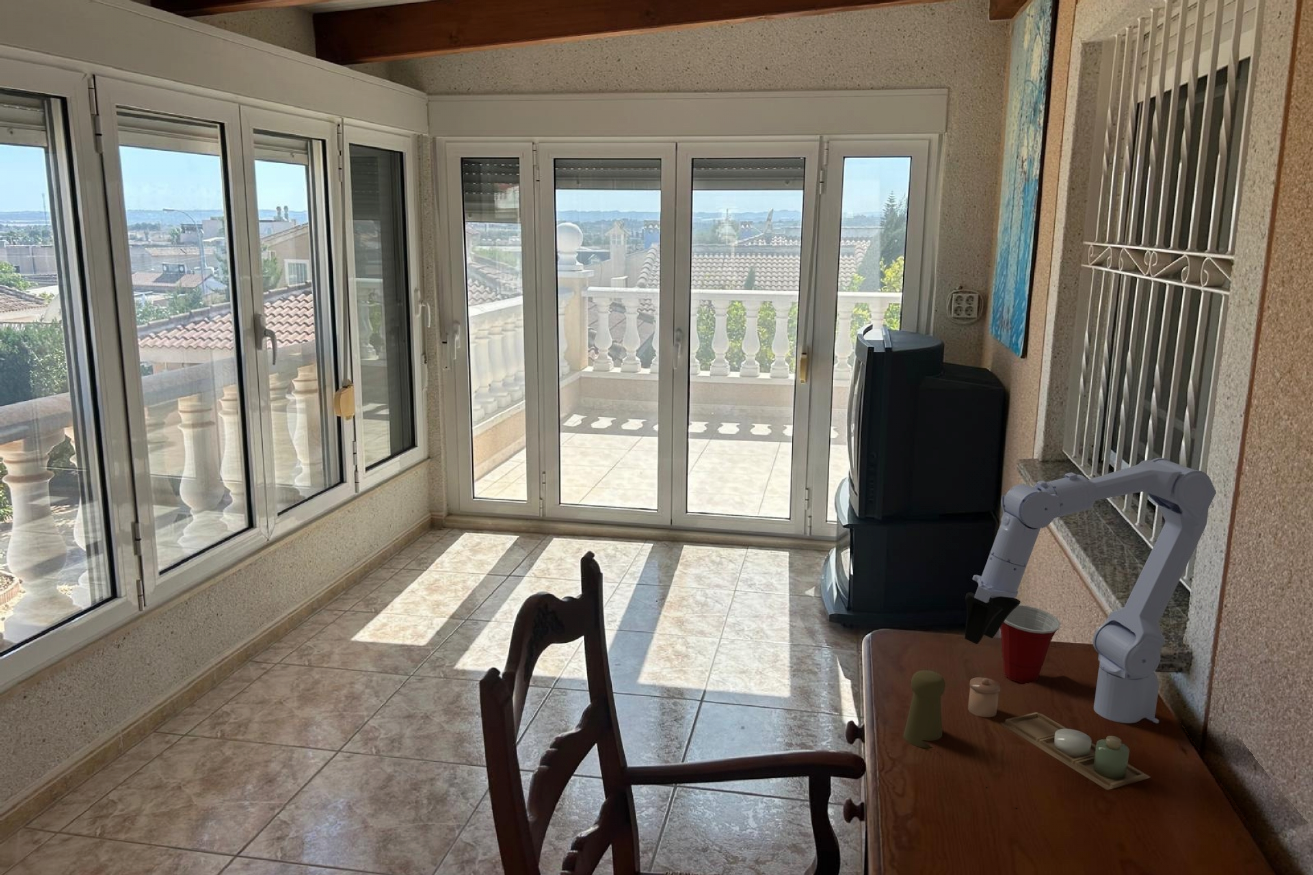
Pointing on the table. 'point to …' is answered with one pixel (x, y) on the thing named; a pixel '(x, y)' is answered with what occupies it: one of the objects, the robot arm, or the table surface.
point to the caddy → (1043, 735)
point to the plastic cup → (1026, 642)
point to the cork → (925, 709)
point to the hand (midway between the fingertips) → (979, 638)
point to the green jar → (1111, 758)
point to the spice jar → (983, 697)
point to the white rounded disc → (1072, 742)
